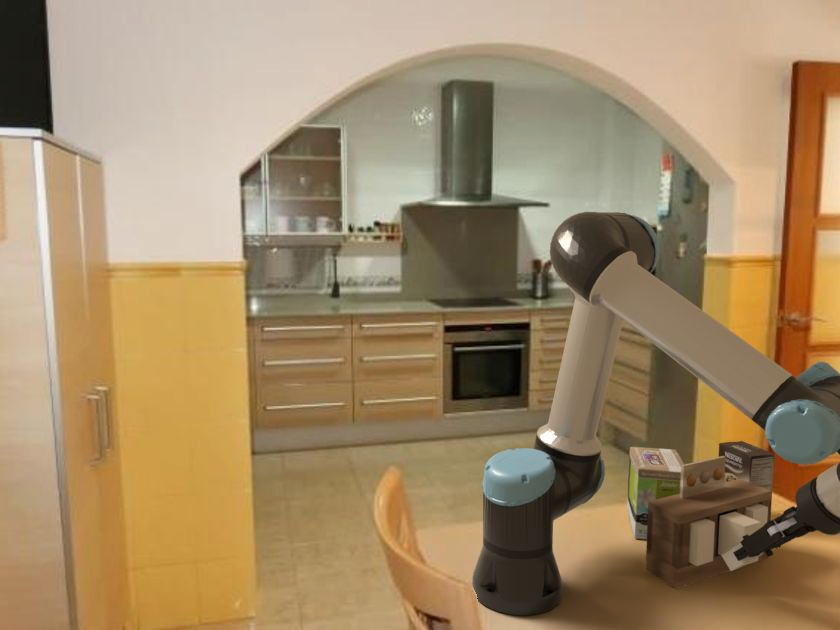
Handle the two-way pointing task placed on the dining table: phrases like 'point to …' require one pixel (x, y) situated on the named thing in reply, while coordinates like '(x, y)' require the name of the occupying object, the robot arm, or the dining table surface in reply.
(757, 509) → the right button
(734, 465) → the coffee box
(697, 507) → the console
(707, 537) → the left button
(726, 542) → the middle button
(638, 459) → the tea box
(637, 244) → the robot arm
